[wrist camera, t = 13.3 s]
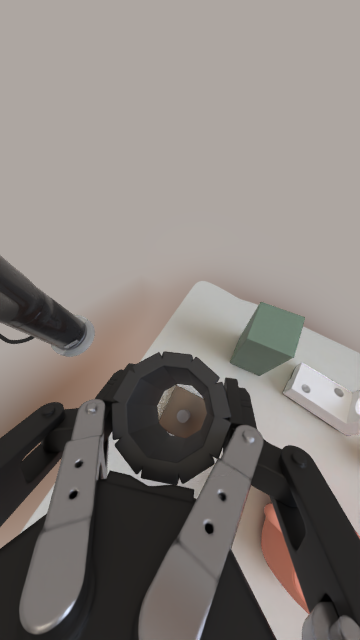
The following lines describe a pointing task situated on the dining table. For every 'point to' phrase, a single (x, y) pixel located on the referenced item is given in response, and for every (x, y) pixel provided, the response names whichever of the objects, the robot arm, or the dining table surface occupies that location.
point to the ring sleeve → (145, 430)
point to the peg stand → (183, 413)
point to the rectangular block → (268, 339)
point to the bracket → (325, 399)
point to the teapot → (280, 556)
